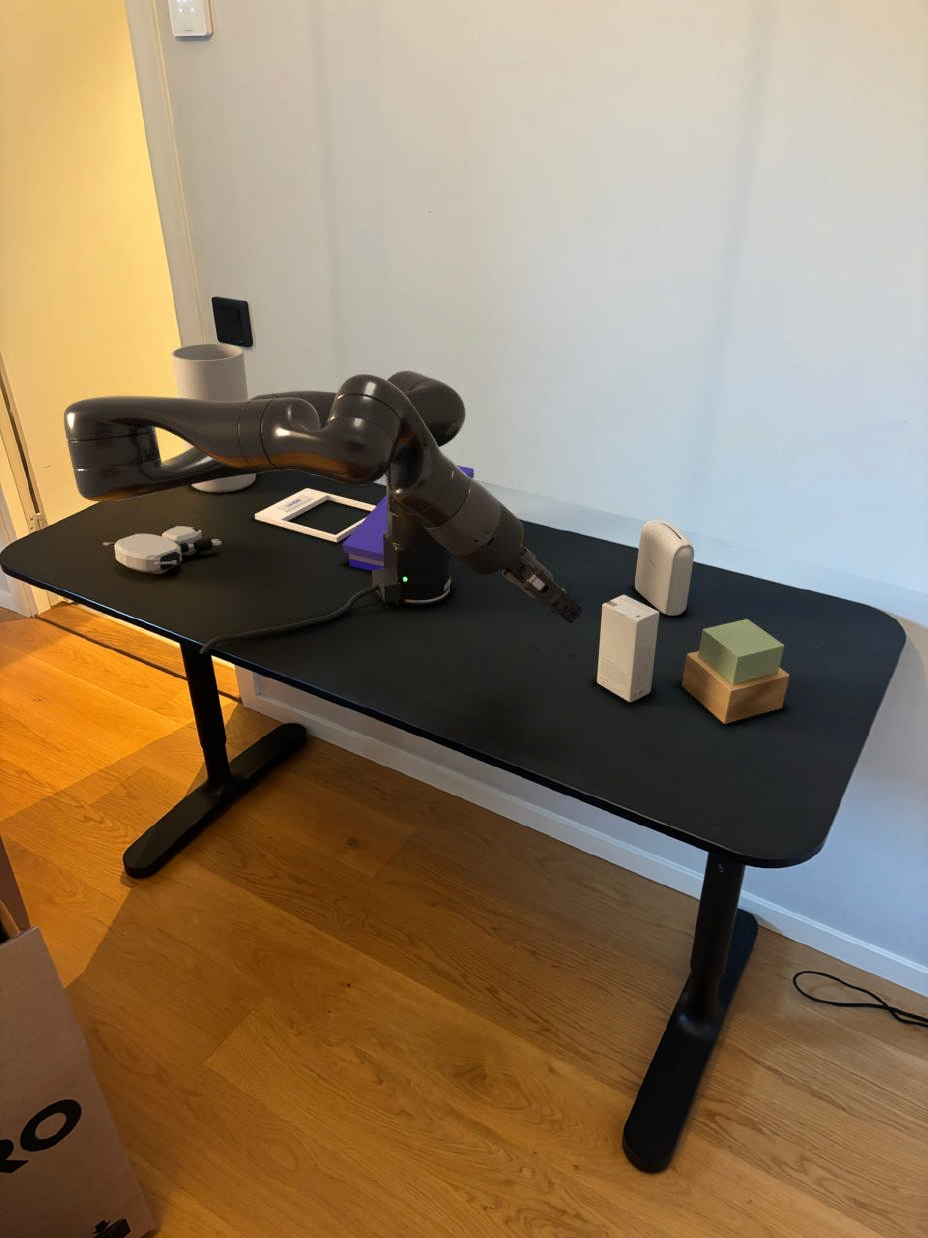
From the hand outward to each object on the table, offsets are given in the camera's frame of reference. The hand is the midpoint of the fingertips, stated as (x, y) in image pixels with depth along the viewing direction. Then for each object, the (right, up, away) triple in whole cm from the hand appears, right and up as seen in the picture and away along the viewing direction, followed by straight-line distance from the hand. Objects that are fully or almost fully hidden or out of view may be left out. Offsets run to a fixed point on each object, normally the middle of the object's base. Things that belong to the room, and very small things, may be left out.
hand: (558, 599), depth 106 cm
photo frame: (-37, +16, +57) cm, 69 cm away
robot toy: (-59, +7, +41) cm, 72 cm away
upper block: (+23, -8, +8) cm, 26 cm away
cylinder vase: (-58, +24, +70) cm, 94 cm away
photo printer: (+19, 0, +32) cm, 37 cm away
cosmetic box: (+9, -11, +12) cm, 19 cm away
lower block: (+23, -12, +10) cm, 28 cm away
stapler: (-20, +11, +49) cm, 54 cm away
